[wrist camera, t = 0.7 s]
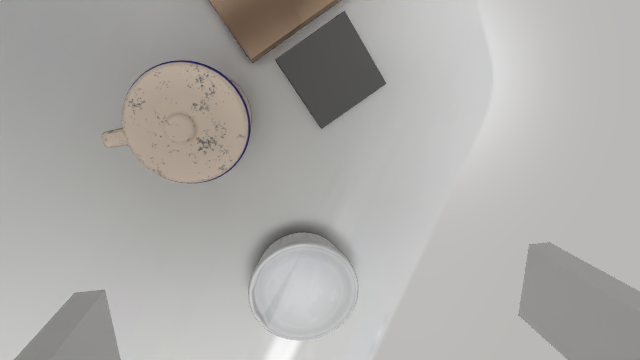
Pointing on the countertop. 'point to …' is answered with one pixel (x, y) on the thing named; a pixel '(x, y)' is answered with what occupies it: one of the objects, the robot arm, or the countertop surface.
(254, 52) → the frame
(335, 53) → the pad
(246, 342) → the countertop surface
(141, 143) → the teacup with lid
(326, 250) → the ramekin
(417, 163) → the countertop surface
